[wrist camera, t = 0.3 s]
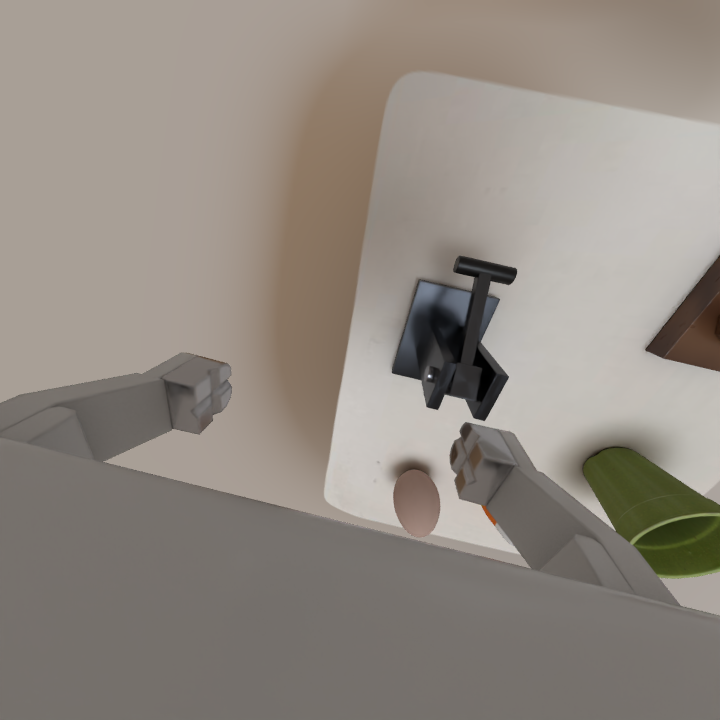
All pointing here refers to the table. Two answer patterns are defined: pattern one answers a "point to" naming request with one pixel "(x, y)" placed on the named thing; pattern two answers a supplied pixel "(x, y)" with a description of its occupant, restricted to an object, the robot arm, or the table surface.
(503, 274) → the lever
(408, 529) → the egg
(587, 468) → the plant pot
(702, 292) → the button block
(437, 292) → the bracket
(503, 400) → the table surface
